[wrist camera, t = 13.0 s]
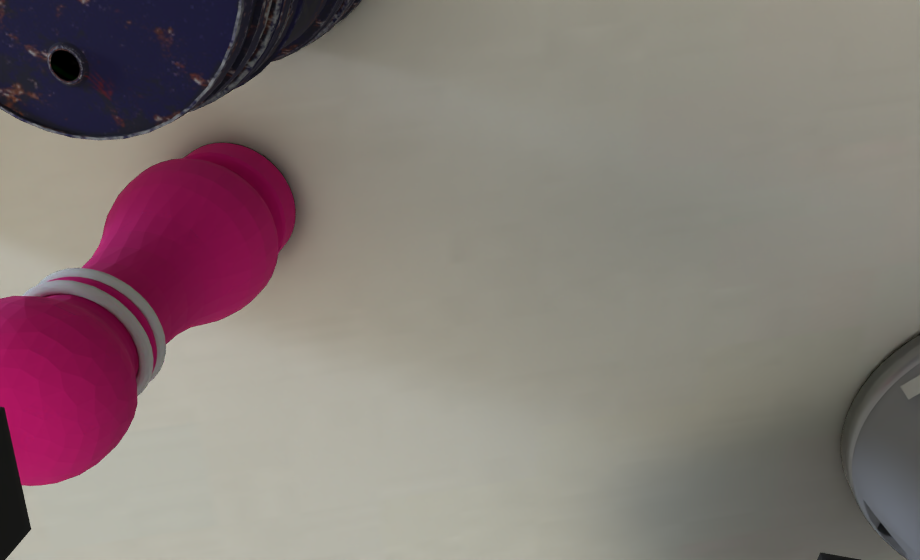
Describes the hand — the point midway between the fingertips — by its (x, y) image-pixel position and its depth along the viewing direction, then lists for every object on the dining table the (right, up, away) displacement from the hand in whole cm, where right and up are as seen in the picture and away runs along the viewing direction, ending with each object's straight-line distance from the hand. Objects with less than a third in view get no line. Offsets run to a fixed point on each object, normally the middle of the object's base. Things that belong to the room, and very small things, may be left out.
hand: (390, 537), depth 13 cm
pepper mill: (-10, +8, +26) cm, 29 cm away
